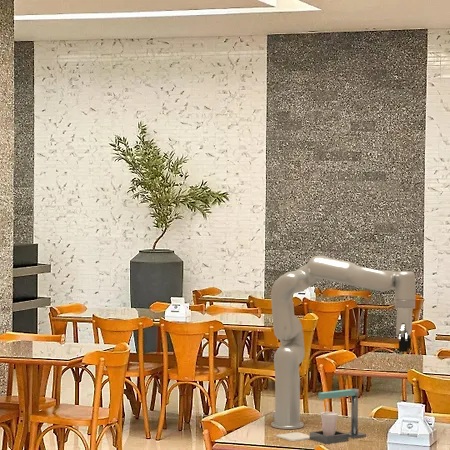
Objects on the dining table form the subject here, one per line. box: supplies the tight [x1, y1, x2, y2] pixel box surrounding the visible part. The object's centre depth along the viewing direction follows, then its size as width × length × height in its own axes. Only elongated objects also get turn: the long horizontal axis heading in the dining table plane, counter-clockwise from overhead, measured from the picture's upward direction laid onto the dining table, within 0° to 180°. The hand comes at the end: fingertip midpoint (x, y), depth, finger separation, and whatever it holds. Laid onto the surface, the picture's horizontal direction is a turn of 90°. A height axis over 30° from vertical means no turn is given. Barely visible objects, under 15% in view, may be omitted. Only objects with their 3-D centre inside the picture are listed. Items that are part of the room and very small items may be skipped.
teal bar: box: [317, 388, 360, 400], centre depth 366 cm, size 18×3×2 cm, turn 123°
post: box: [346, 395, 367, 439], centre depth 370 cm, size 6×6×15 cm
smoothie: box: [320, 400, 339, 436], centre depth 364 cm, size 6×6×14 cm
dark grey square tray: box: [309, 429, 349, 445], centre depth 364 cm, size 10×10×2 cm
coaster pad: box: [275, 431, 311, 442], centre depth 368 cm, size 10×10×1 cm
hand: (404, 350), depth 375 cm, fingers open, 9 cm apart
